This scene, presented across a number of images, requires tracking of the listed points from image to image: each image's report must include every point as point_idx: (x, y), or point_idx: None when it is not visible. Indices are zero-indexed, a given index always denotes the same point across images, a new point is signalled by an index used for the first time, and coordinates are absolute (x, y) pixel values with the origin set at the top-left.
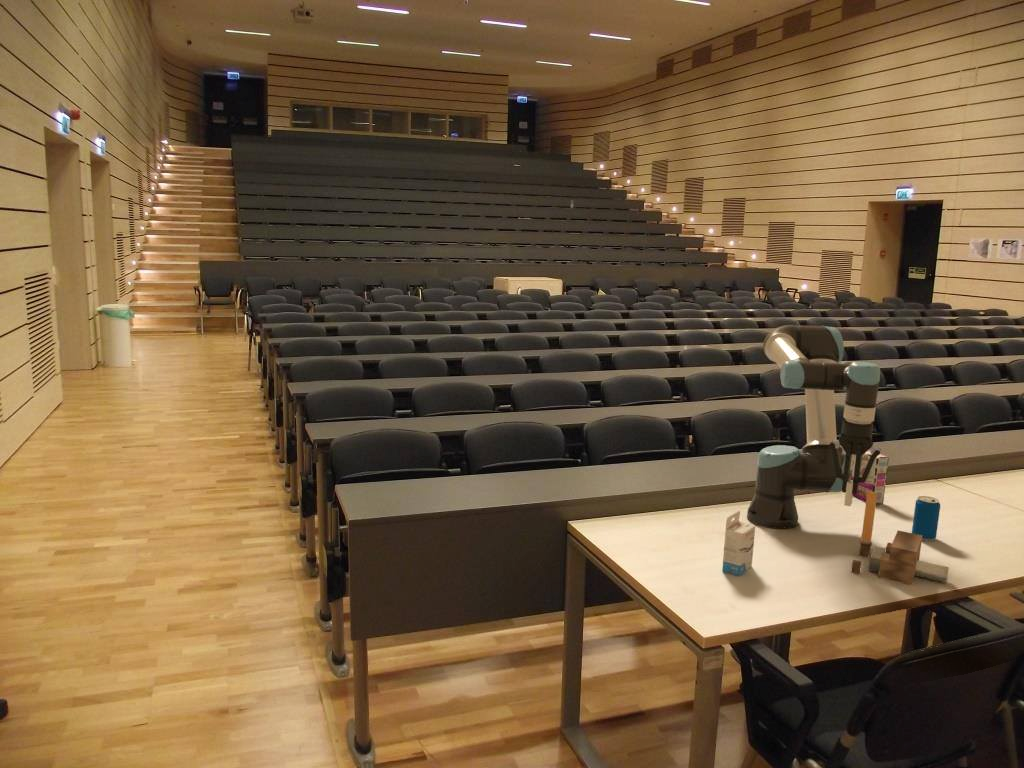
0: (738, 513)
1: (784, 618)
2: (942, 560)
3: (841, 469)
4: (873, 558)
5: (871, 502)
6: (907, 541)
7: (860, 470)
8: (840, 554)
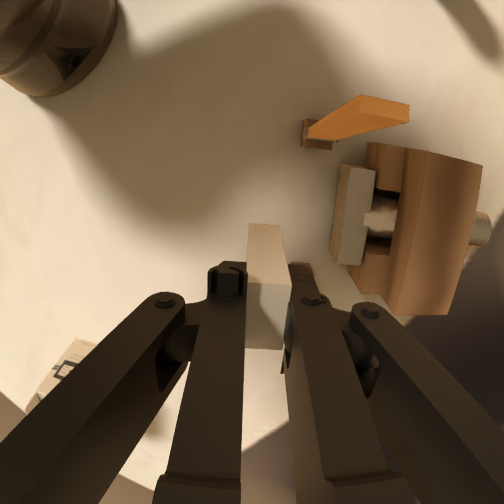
0: (29, 411)
1: None
2: (473, 89)
3: (164, 341)
4: (344, 262)
5: (366, 123)
6: (443, 245)
7: (348, 354)
8: (252, 166)
